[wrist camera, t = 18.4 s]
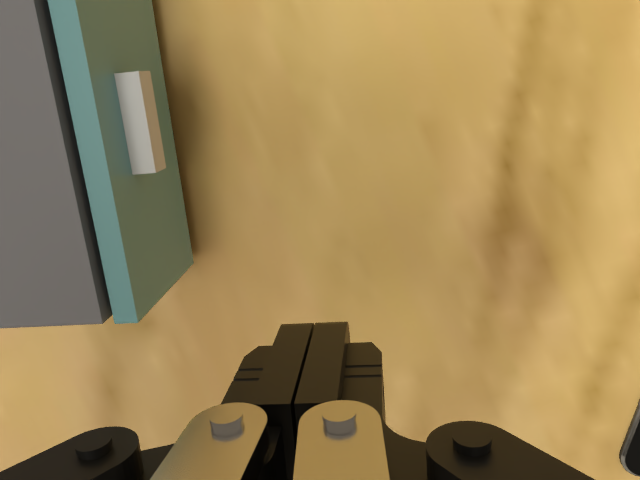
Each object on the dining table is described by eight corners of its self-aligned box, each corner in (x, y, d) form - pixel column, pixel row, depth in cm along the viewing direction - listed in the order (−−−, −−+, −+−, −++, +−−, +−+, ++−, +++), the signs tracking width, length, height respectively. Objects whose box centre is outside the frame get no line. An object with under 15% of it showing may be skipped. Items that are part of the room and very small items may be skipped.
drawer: (212, 261, 30) (161, 321, 23) (-42, 276, 32) (-160, 335, 25) (163, -63, 26) (83, -109, 19) (-127, -26, 28) (-298, -56, 21)
